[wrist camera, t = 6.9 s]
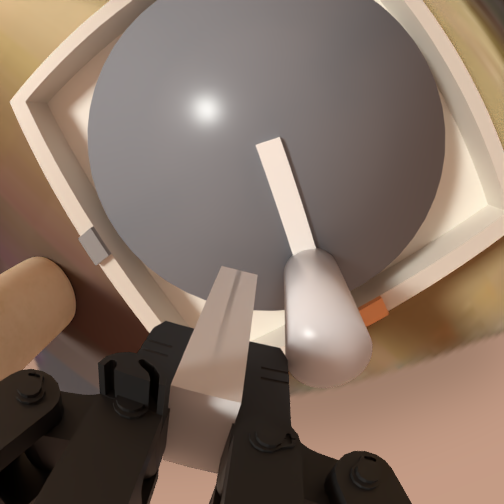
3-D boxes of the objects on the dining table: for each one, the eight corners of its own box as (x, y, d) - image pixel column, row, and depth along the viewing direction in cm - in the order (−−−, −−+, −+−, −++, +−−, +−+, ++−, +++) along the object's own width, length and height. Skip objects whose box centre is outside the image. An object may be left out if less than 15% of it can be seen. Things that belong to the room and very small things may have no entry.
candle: (90, 304, 19) (-3, 396, 10) (54, 337, 21) (-24, 417, 11) (42, 239, 18) (-70, 300, 9) (12, 280, 20) (-79, 342, 10)
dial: (77, 60, 13) (-28, 31, 6) (357, -40, 11) (397, -131, 3) (175, 324, 18) (118, 425, 10) (453, 240, 15) (548, 305, 7)
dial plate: (316, -73, 11) (321, -105, 8) (492, 207, 15) (527, 221, 12) (43, 104, 16) (6, 101, 12) (214, 363, 20) (203, 400, 17)
